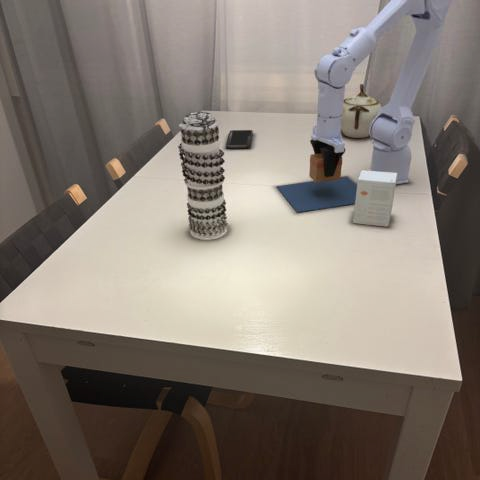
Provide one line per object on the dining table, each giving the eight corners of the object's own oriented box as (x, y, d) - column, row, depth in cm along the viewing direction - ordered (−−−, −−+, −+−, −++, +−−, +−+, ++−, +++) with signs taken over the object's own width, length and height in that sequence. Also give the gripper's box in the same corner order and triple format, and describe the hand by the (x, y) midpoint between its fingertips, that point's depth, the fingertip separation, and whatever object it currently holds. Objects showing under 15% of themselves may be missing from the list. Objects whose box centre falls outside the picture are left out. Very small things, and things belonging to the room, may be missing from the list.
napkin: (346, 177, 128) (346, 176, 128) (374, 201, 116) (374, 200, 116) (276, 187, 125) (276, 186, 125) (297, 213, 113) (297, 211, 113)
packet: (333, 172, 120) (335, 151, 117) (340, 179, 117) (342, 157, 113) (308, 176, 119) (310, 154, 116) (315, 183, 115) (317, 160, 112)
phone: (225, 145, 148) (230, 130, 160) (225, 148, 149) (230, 133, 161) (250, 145, 148) (253, 129, 159) (250, 148, 148) (253, 133, 160)
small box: (390, 216, 110) (398, 172, 103) (388, 227, 105) (396, 182, 99) (355, 212, 112) (361, 169, 105) (352, 223, 108) (357, 178, 101)
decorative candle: (183, 226, 109) (168, 113, 94) (220, 218, 112) (212, 106, 96) (195, 244, 103) (182, 125, 87) (235, 234, 105) (229, 117, 90)
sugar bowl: (337, 124, 165) (341, 76, 155) (381, 126, 161) (388, 78, 152) (330, 142, 150) (334, 91, 141) (378, 145, 147) (385, 93, 137)
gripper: (302, 108, 113) (299, 164, 122) (325, 125, 102) (321, 185, 111) (329, 105, 114) (325, 160, 123) (355, 122, 103) (348, 181, 112)
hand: (325, 172), depth 117 cm, fingers closed on packet, 4 cm apart
